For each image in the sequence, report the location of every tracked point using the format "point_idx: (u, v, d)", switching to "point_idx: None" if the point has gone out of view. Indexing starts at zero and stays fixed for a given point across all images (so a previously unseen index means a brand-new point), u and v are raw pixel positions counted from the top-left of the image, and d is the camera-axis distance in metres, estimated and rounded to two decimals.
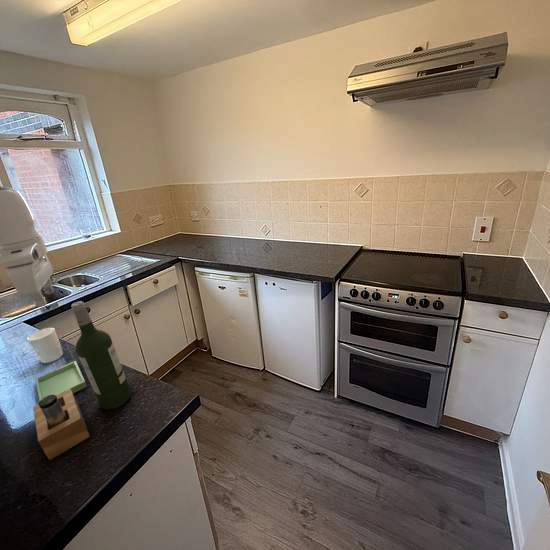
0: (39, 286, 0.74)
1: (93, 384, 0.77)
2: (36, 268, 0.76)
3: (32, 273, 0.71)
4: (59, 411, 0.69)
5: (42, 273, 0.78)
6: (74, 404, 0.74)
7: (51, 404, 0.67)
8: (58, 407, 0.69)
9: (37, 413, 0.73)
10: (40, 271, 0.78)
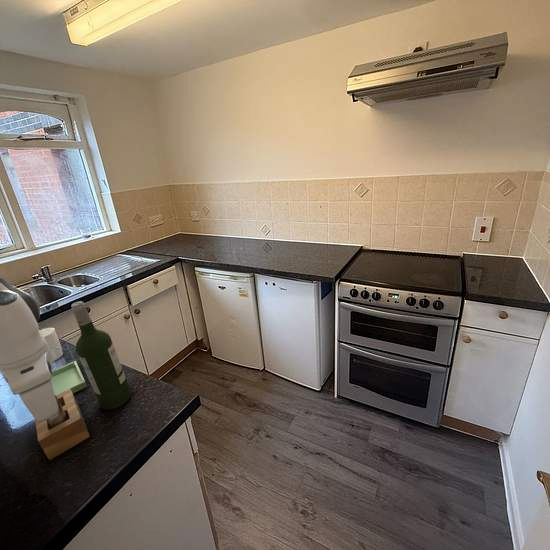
0: None
1: (93, 384, 0.77)
2: None
3: (52, 392, 0.60)
4: (59, 411, 0.69)
5: None
6: (74, 404, 0.74)
7: None
8: None
9: None
10: None
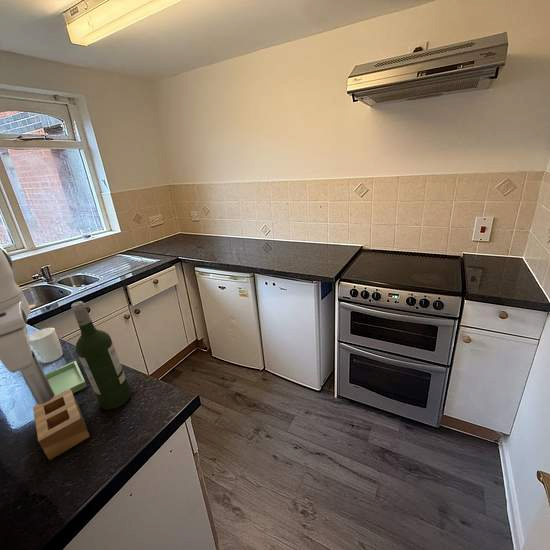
0: None
1: (93, 384, 0.77)
2: None
3: (26, 341, 0.56)
4: (37, 368, 0.65)
5: None
6: (74, 404, 0.74)
7: None
8: (35, 363, 0.64)
9: (37, 413, 0.73)
10: None
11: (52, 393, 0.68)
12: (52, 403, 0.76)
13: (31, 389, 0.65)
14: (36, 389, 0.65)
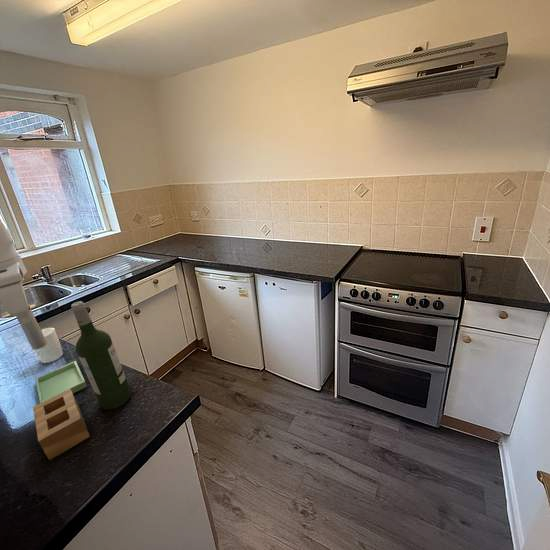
0: None
1: (93, 384, 0.77)
2: None
3: (22, 291, 0.71)
4: (32, 319, 0.80)
5: None
6: (74, 404, 0.74)
7: None
8: (31, 315, 0.80)
9: (37, 413, 0.73)
10: None
11: (45, 341, 0.83)
12: (52, 403, 0.76)
13: (28, 336, 0.80)
14: (32, 336, 0.80)
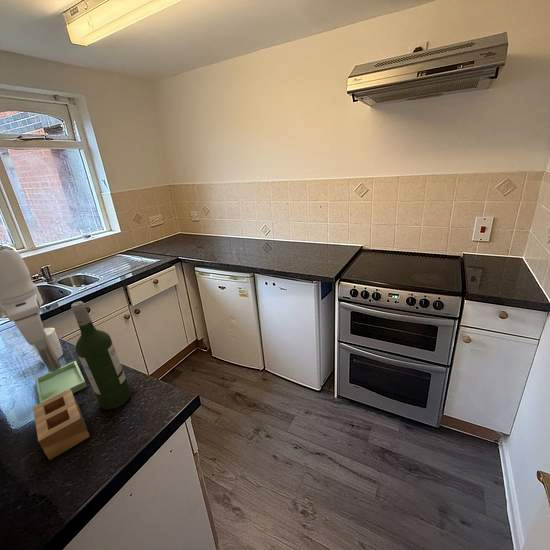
0: None
1: (93, 384, 0.77)
2: None
3: (40, 322, 0.77)
4: (47, 345, 0.86)
5: None
6: (74, 404, 0.74)
7: None
8: (46, 341, 0.86)
9: (37, 413, 0.73)
10: None
11: (59, 364, 0.90)
12: (52, 403, 0.76)
13: (44, 360, 0.87)
14: (47, 360, 0.87)
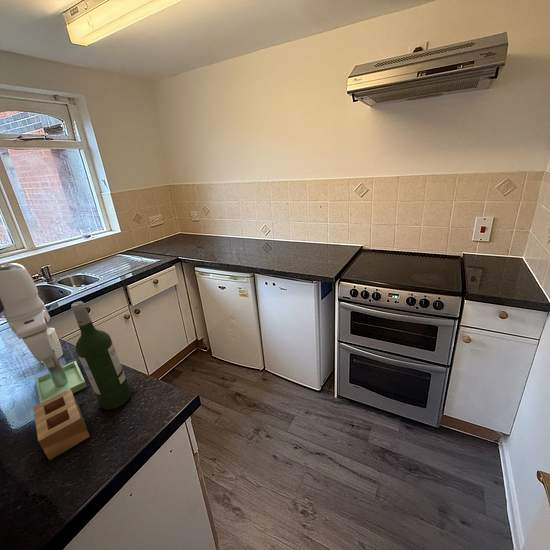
0: None
1: (93, 384, 0.77)
2: None
3: (48, 339, 0.79)
4: (55, 361, 0.88)
5: None
6: (74, 404, 0.74)
7: None
8: (54, 357, 0.88)
9: (37, 413, 0.73)
10: None
11: (66, 379, 0.92)
12: (52, 403, 0.76)
13: (51, 376, 0.89)
14: (55, 376, 0.89)
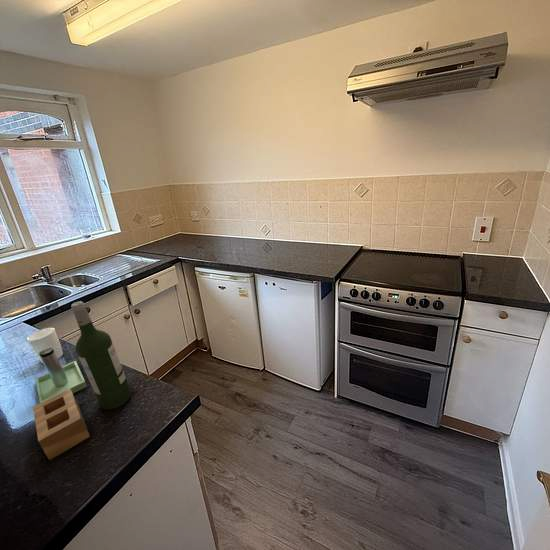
0: None
1: (93, 384, 0.77)
2: None
3: None
4: (55, 361, 0.88)
5: None
6: (74, 404, 0.74)
7: (49, 354, 0.87)
8: (54, 357, 0.88)
9: (37, 413, 0.73)
10: None
11: (66, 379, 0.92)
12: (52, 403, 0.76)
13: (51, 376, 0.89)
14: (55, 376, 0.89)
